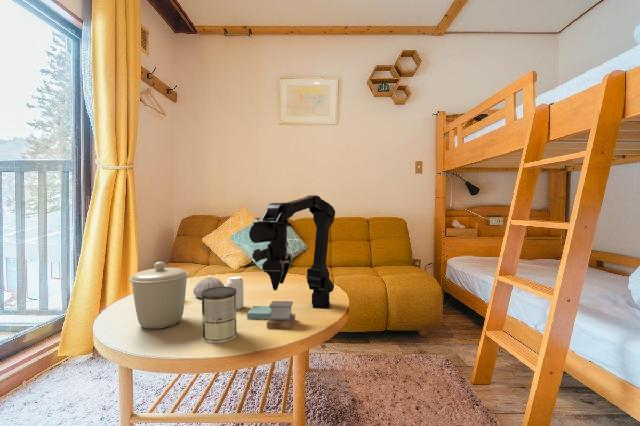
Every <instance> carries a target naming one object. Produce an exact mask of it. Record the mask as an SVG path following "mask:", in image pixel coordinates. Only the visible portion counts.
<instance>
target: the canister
mask: <svg viewBox="0 0 640 426" xmlns="http://www.w3.org/2000/svg"><path fill="white" fill-rule="evenodd" d="M189 274H190V272H188V271H187V270H184V268H183V269H182V268H180V267H166V263H165V262H164V261H157V262H155V263H153V268H150V269H144V270H141V271H138V272H136V273H134V274H133V275H132V276H130V277H129V278H128V281H130V283H131V287H132V295H133V301H134V307H135V312H136V318H137V322H138V324H139V325H140V327H142V328H144V329H147V330H150V329H151V330H152V329H153V330H155V329H156V330H157V329H164V328H168V327H172V326H174V325H176V324H177V323H179V322H180V321H181V320H182V318H183V315H184V309H185V300H186V292H187V291H186V290H187V279H188V278H187V277H189Z"/></svg>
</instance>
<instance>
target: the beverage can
mask: <svg viewBox="0 0 640 426" xmlns="http://www.w3.org/2000/svg"><path fill="white" fill-rule="evenodd" d="M226 287H233V288H235V289H236V311H238V310H241V309H242V308H243V307H244V306H245V305H244V304H245V303H244V301H245V300H244V280H243V279H242V276H239V275H231V276H229V277H228V279H227V281H226Z"/></svg>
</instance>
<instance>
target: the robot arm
mask: <svg viewBox="0 0 640 426" xmlns="http://www.w3.org/2000/svg"><path fill="white" fill-rule="evenodd" d="M307 209H308V211H309V212H310V213H311V214H312V215H313V217H312V219H313V223H314V224H315V227H316V229H315V240H314V249H313V250H314V253H313V261H312V262H313V263H312V265H311V267H310V268H309V267H307V269H306V277H305V279H306V283H307V285H308V288H309V290H310V291H311V290H312V291H313V292H312V293H311V305H312V308H314V309H317V308H318V309H330V307H331V302H330V294H331V293H332V292H333V291H334V290H335V289H334V288H335V284H334V283H333V282H332V281H331V278H330V271H329V269H328V267H327V255H328V245H329V235H330V234H329V233H330V228H331V227H332V225H333V223H334V222H335V216H336V209H335V208H334V206H333V205H331V204H330V202H327V201H326V200H324V199H322V198H321V197H320V196H319V195H316V194H314V195H313V194H312V195H307V196H305V197H302V198H298V199H294V200H291V201H288V202H271V203H269V204H268V205H267V208H266V211H265V212H264V214H263V216H262V218H261V219H260V220H254V221H253V225H252V226H251V227H250V229H249V233H248V235H249V238H250V240H251V242H252V243H254V244H258V243H259V244H260V243H267V242H269V243H268V244H267V247H265V248H263V249H261V248H256V249H254V250H253V253H252V254H251V258H252V259H253V261H254V262H255V264H256V263H258V262H260V261H262V260H265V261H264V262H263V263H261V266H262V267H261V269H262V271H263V272H264V273H265V274H267V275H268V276H269V279H270V282H271V286H272V290H273V291H277V290H278V288H279V286H280V284H282V285H283V284H284V282H285V279H286V277H287V275H288V272H289V269H290V267H291V265H292V262H293V255H292V253H290V252H288V247H289V242H288V227H292V223H291V222H290V221H289V219H290V218H292V217H293V216H294V214H295V213H298V212H301V211H304V210H307Z"/></svg>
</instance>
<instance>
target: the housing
mask: <svg viewBox="0 0 640 426" xmlns="http://www.w3.org/2000/svg"><path fill="white" fill-rule="evenodd" d="M293 304H294V301H291V300H290V301H288V300H272V302H271V303H270V304H269V305H268V306H269V308H271V317H270V318H269V319H270V321H291V319H292V317H293V314H294V313H292V306H293ZM269 319H268V320H269Z"/></svg>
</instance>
